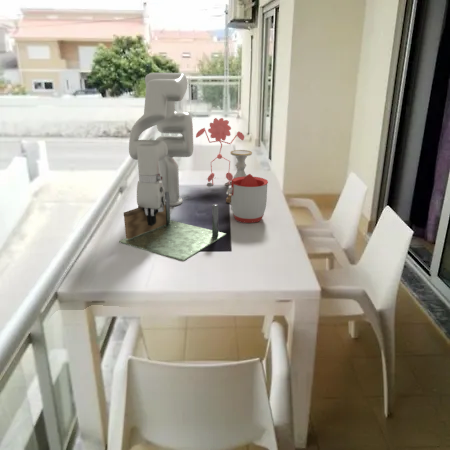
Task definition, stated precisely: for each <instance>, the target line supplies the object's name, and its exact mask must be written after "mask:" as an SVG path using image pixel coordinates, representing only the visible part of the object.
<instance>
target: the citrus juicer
mask: <svg viewBox="0 0 450 450" xmlns="http://www.w3.org/2000/svg"><path fill="white" fill-rule="evenodd" d="M246 175H247V176H245V177H237V178H234V179H232V180H231V181H230V182H231V183H230V186H231V187H229V188H228V189H226V195H229V194H231V203H230V204H231V210H232V215H233V217H234V220H235V221H237V222H239V223H246V224H247V223H248V224H251V223H254V224H255V223H259V222H260V221H262V219H263V217H264V214H265V212H266V206H267V203H268V202H267V200H268V196H267V195H268V184H269V181H268V180H267V179H265V178H263V177H259V176H253V175H252V174H251V173H249V174H246Z"/></svg>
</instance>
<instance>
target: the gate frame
mask: <svg viewBox="0 0 450 450" xmlns="http://www.w3.org/2000/svg"><path fill="white" fill-rule="evenodd" d="M164 194H165V201H166V204H165V207H166V225H163V226H161V227H158V228H156V229H153V230H151V231H148V232H145V233H143V234H140V235H138V236H135V237H133V238H130V239H127V238H126V237H125V238H123V239H120V240H119V243H120V242H121V243H120V244H123V243H124V245H127V244H128V246H130V245H131V247H134V248H136V249H137V248H138V249H140V250H144V251H147V252H148V251H149V252H151V251H152V252H151V253H154V252H155V254H158V255H162V256H165V257H168V258H171V259H175V260H179V261H182V262H184V261H186V260H188V259H189V258H191V257H193V256H194V255H196V254H198V253H199V252H201V251H202V250H204V249H206V248H207V247H209V246H211V245H212V244H214V243H216V241H219V240H220V239H221V238H222V239H223V238H224V237H225V236H227V233H226V232H222V231H221V232H220V231H219V204H217V203H213V204H212V205H211V210H212V211H211V229H209V228H204V227H201V226H196V225H192V224H187V223H183V222H179V221H176V220H171V206H170V197H169V192H164Z"/></svg>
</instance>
